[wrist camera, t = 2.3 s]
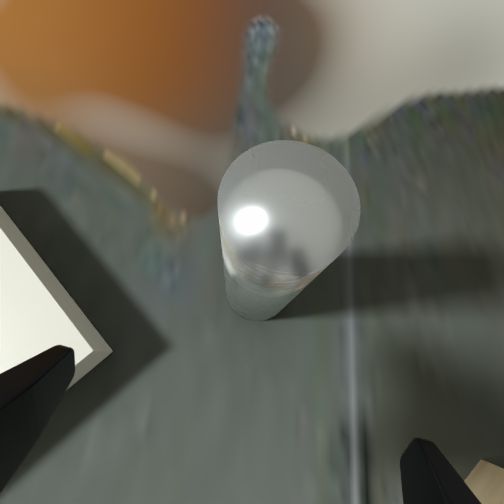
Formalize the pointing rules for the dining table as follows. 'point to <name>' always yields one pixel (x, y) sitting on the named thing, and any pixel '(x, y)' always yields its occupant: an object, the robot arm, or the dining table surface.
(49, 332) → the bore plate
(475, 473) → the oak block
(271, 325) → the dining table surface
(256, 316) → the metal peg
